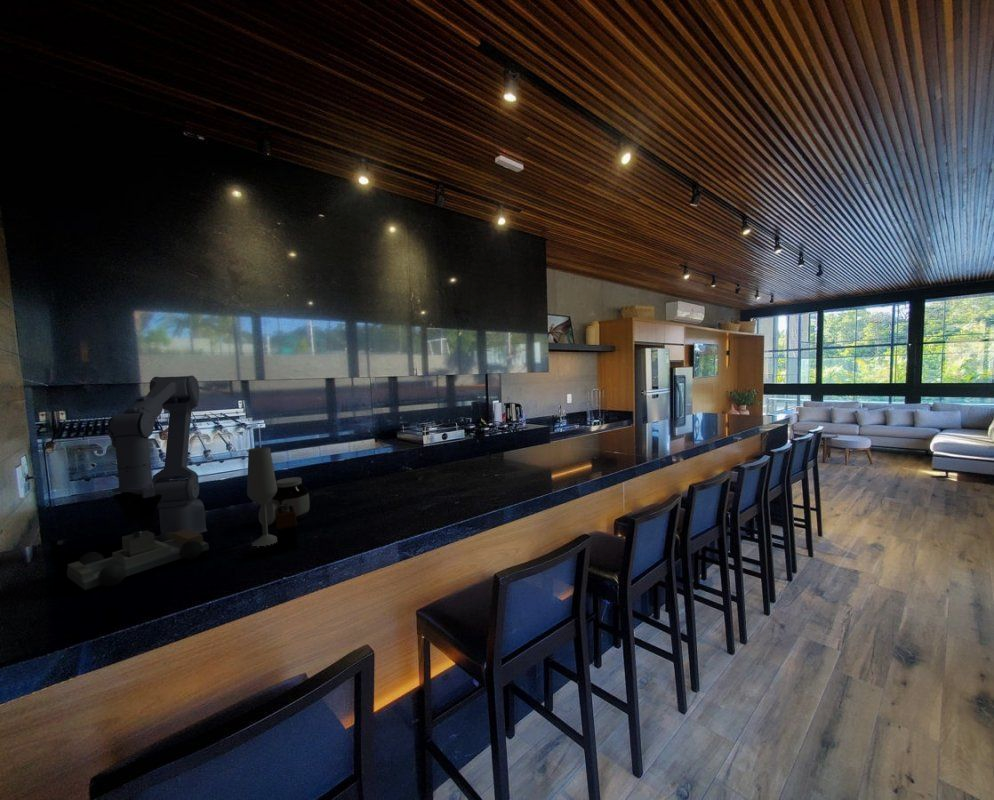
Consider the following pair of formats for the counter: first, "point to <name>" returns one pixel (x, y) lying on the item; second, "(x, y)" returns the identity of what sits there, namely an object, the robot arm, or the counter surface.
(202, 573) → the counter surface
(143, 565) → the car chassis
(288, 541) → the battery
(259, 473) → the champagne flute
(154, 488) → the robot arm
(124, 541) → the engine block
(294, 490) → the spread jar
